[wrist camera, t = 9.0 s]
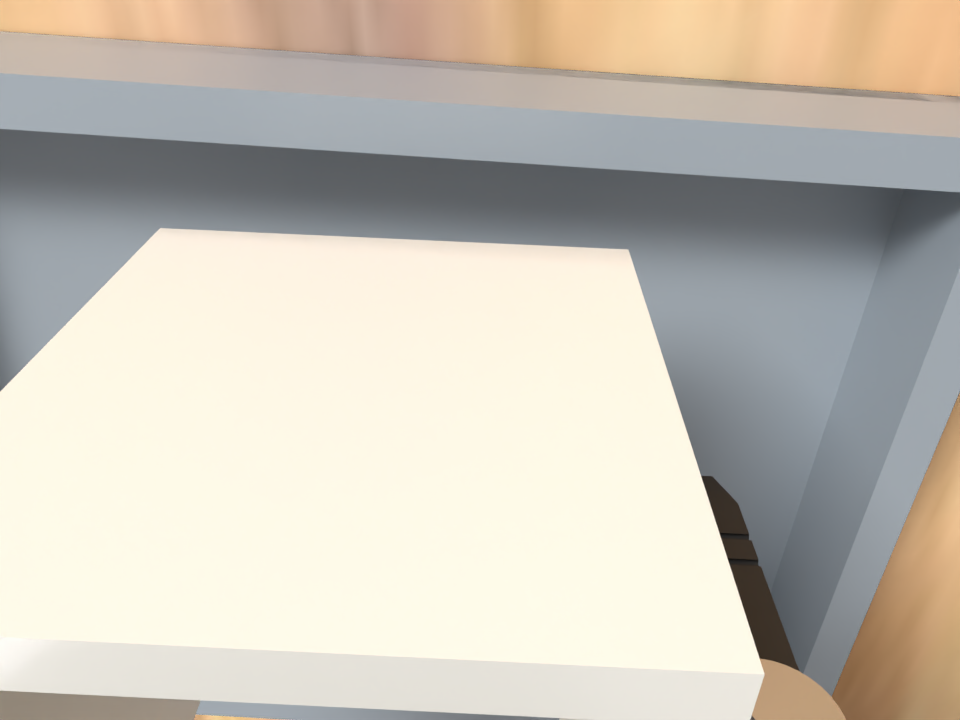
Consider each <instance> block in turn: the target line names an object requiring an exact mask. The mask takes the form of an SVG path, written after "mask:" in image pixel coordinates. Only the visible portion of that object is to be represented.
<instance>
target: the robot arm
mask: <svg viewBox="0 0 960 720" xmlns="http://www.w3.org/2000/svg"><path fill="white" fill-rule="evenodd" d="M701 477H702V481H703V484H704V487H705V490H706V493H707V496H708V499H709V502H710V505H711V509H712V512H713V515H714V518H715V521H716V524H717V527H718V530H719V534H720V537H721V540H722V543H723V546H724V549H725V552H726V555H727V559H728V562H729V565H730V568H731V571H732V574H733V577H734V580H735V583H736V587H737V590H738V593H739V596H740V599H741V602H742V605H743V608H744V612H745V615H746V618H747V621H748V624H749V627H750V630H751V633H752V637H753V640H754V643H755V646H756V649H757V652H758V655H759V658H760V661H761V665H762V668H763V671H764V674H765V675H764V678H763V681H762V684H761V688H760V691H759V694H758V697H757V700H756V703H755V706H754V710H753V713H752V716H751V719H750V720H846V718H845V716H844V715H843V713H842V711H841V709H840V708H839V706H838V705H837V703H836V702H835V701H834V700H833V698H832V697H831V696H830V695H829V694H828V693H827V692H826V691H825V690H824V689H823V688H822V687H821V686H820V685H819V684H817V683H816V682H815V681H813V680H812V679H811V678H809V677H808V676H806V675H804V674H803V673H801V672H800V670H799V668H798V666H797V664H796V661H795V658H794V655H793V653H792V650H791V647H790V644H789V642H788V639H787V636H786V633H785V631H784V628H783V625H782V622H781V620H780V617H779V614H778V611H777V609H776V606H775V603H774V601H773V598H772V595H771V592H770V590H769V587H768V584H767V581H766V579H765V576H764V573H763V570H762V568H761V566H759V565H758V561H759V559H758V557H757V554H756V551H755V548H754V546H753V543H752V540H749V532H748V529H747V527H746V524H745V521H744V518H743V516H742V513H741V510H740V507H739V505H738V503H737V502H736V501H735V500H734V499H733V498H732V496H731V495H730V494H729V493H728V492H727V491H726V490H725V489H724V488H723V487H722V486H721V485H720V484H719V483H718V482H717V481H716V480H715V479H714V477H713V476H701Z"/></svg>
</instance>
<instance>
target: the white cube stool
mask: <svg viewBox="0 0 960 720" xmlns="http://www.w3.org/2000/svg"><path fill="white" fill-rule="evenodd" d="M764 675H765V674H764V671H763V668H762V665H761V661H760V658H759V655H758V652H757V649H756V646H755V643H754V640H753V637H752V633H751V630H750V627H749V624H748V621H747V618H746V615H745V612H744V608H743V605H742V602H741V599H740V596H739V593H738V590H737V587H736V583H735V580H734V577H733V574H732V571H731V568H730V565H729V562H728V559H727V555H726V552H725V549H724V546H723V543H722V540H721V537H720V534H719V530H718V527H717V524H716V521H715V518H714V515H713V512H712V509H711V505H710V502H709V499H708V496H707V493H706V490H705V487H704V484H703V481H702V477H701V474H700V471H699V468H698V465H697V462H696V459H695V456H694V452H693V449H692V446H691V443H690V440H689V437H688V434H687V431H686V427H685V424H684V421H683V418H682V415H681V412H680V409H679V406H678V402H677V399H676V396H675V393H674V390H673V387H672V384H671V381H670V378H669V374H668V371H667V368H666V365H665V362H664V359H663V356H662V353H661V349H660V346H659V343H658V340H657V337H656V334H655V331H654V328H653V324H652V321H651V318H650V315H649V312H648V309H647V306H646V303H645V300H644V296H643V293H642V290H641V287H640V284H639V281H638V278H637V275H636V271H635V268H634V265H633V262H632V259H631V256H630V253H629V250H628V249H607V248H585V247H563V246H541V245H520V244H498V243H476V242H454V241H432V240H410V239H388V238H367V237H345V236H323V235H301V234H279V233H257V232H235V231H214V230H192V229H170V228H160V229H159V230H158V231H157V232H156V233H155V234H154V235H153V236H152V237H151V238H150V239H149V240H148V241H147V242H146V243H145V244H144V245H143V246H142V247H141V248H140V249H139V250H138V251H137V252H136V253H135V254H134V255H133V256H132V257H131V258H130V259H129V260H128V262H127V263H126V264H125V265H124V266H123V267H122V268H121V269H120V270H119V271H118V272H117V273H116V274H115V275H114V276H113V277H112V278H111V279H110V280H109V281H108V282H107V283H106V284H105V285H104V286H103V287H102V288H101V289H100V290H99V291H98V292H97V293H96V294H95V295H94V296H93V297H92V298H91V299H90V300H89V301H88V302H87V303H86V304H85V305H84V307H83V308H82V309H81V310H80V311H79V312H78V313H77V314H76V315H75V316H74V317H73V318H72V319H71V320H70V321H69V322H68V323H67V324H66V325H65V326H64V327H63V328H62V329H61V330H60V331H59V332H58V333H57V334H56V335H55V336H54V337H53V338H52V339H51V340H50V341H49V342H48V343H47V344H46V345H45V346H44V347H43V348H42V349H41V350H40V352H39V353H38V354H37V355H36V356H35V357H34V358H33V359H32V360H31V361H30V362H29V363H28V364H27V365H26V366H25V367H24V368H23V369H22V370H21V371H20V372H19V373H18V374H17V375H16V376H15V377H14V378H13V379H12V380H11V381H10V382H9V383H8V384H7V385H6V386H5V387H4V388H3V389H2V390H1V391H0V720H194V717H195V715H196V712H197V709H198V706H199V704H200V701H201V700H202V701H223V702H243V703H263V704H284V705H304V706H324V707H345V708H365V709H385V710H406V711H426V712H446V713H467V714H487V715H507V716H528V717H548V718H559V720H750V719H751V716H752V713H753V710H754V706H755V703H756V700H757V697H758V694H759V691H760V688H761V684H762V681H763V678H764Z"/></svg>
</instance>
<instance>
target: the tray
mask: <svg viewBox="0 0 960 720" xmlns="http://www.w3.org/2000/svg"><path fill="white" fill-rule="evenodd" d="M160 228H170V229H192V230H214V231H235V232H257V233H279V234H301V235H323V236H345V237H367V238H388V239H410V240H432V241H454V242H476V243H498V244H520V245H541V246H563V247H585V248H607V249H628V250H629V253H630V256H631V259H632V262H633V265H634V268H635V271H636V275H637V278H638V281H639V284H640V287H641V290H642V293H643V296H644V300H645V303H646V306H647V309H648V312H649V315H650V318H651V321H652V324H653V328H654V331H655V334H656V337H657V340H658V343H659V346H660V349H661V353H662V356H663V359H664V362H665V365H666V368H667V371H668V374H669V378H670V381H671V384H672V387H673V390H674V393H675V396H676V399H677V402H678V406H679V409H680V412H681V415H682V418H683V421H684V424H685V427H686V431H687V434H688V437H689V440H690V443H691V446H692V449H693V452H694V456H695V459H696V462H697V465H698V468H699V471H700V474H701V476H713V477H714V479H715V480H716V481H717V482H718V483H719V484H720V485H721V486H722V487H723V488H724V489H725V490H726V491H727V492H728V493H729V494H730V495H731V496H732V498H733V499H734V500H735V501H736V502H737V503H738V505H739V507H740V510H741V513H742V516H743V518H744V521H745V524H746V527H747V529H748V532H749V540H752V543H753V546H754V548H755V551H756V554H757V557H758V559H759V561H758V565H759V566H761V568H762V570H763V573H764V576H765V579H766V581H767V584H768V587H769V590H770V592H771V595H772V598H773V601H774V603H775V606H776V609H777V611H778V614H779V617H780V620H781V622H782V625H783V628H784V631H785V633H786V636H787V639H788V642H789V644H790V647H791V650H792V653H793V655H794V658H795V661H796V664H797V666H798V668H799V670H800V672H801V673H803V674H804V675H806V676H808V677H809V678H811V679H812V680H813V681H815V682H816V683H817V684H819V685H820V686H821V687H822V688H823V689H824V690H825V691H826V692H827V693H828V694H829V695H830V696H832V694H833V692H834V689H835V687H836V685H837V682H838V680H839V677H840V675H841V673H842V670H843V668H844V666H845V663H846V661H847V658H848V656H849V654H850V651H851V649H852V647H853V644H854V642H855V639H856V637H857V635H858V632H859V630H860V628H861V625H862V623H863V620H864V618H865V616H866V613H867V611H868V609H869V606H870V604H871V601H872V599H873V597H874V594H875V592H876V590H877V587H878V585H879V582H880V580H881V578H882V575H883V573H884V571H885V568H886V566H887V563H888V561H889V559H890V556H891V554H892V552H893V549H894V547H895V544H896V542H897V540H898V537H899V535H900V533H901V530H902V528H903V525H904V523H905V521H906V518H907V516H908V513H909V511H910V509H911V506H912V504H913V502H914V499H915V497H916V494H917V492H918V490H919V487H920V485H921V483H922V480H923V478H924V475H925V473H926V471H927V468H928V466H929V464H930V461H931V459H932V456H933V454H934V452H935V449H936V447H937V445H938V442H939V440H940V437H941V435H942V433H943V430H944V428H945V426H946V423H947V421H948V418H949V416H950V414H951V411H952V409H953V407H954V404H955V402H956V399H957V397H958V395H959V392H960V97H959V96H944V95H930V94H915V93H900V92H885V91H871V90H856V89H841V88H826V87H812V86H797V85H782V84H767V83H753V82H738V81H723V80H708V79H694V78H679V77H664V76H650V75H635V74H620V73H605V72H591V71H576V70H561V69H546V68H532V67H517V66H502V65H487V64H473V63H458V62H443V61H429V60H414V59H399V58H384V57H370V56H355V55H340V54H325V53H311V52H296V51H281V50H266V49H252V48H237V47H222V46H207V45H193V44H178V43H163V42H149V41H134V40H119V39H104V38H90V37H75V36H60V35H45V34H31V33H16V32H1V31H0V391H1V390H2V389H3V388H4V387H5V386H6V385H7V384H8V383H9V382H10V381H11V380H12V379H13V378H14V377H15V376H16V375H17V374H18V373H19V372H20V371H21V370H22V369H23V368H24V367H25V366H26V365H27V364H28V363H29V362H30V361H31V360H32V359H33V358H34V357H35V356H36V355H37V354H38V353H39V352H40V350H41V349H42V348H43V347H44V346H45V345H46V344H47V343H48V342H49V341H50V340H51V339H52V338H53V337H54V336H55V335H56V334H57V333H58V332H59V331H60V330H61V329H62V328H63V327H64V326H65V325H66V324H67V323H68V322H69V321H70V320H71V319H72V318H73V317H74V316H75V315H76V314H77V313H78V312H79V311H80V310H81V309H82V308H83V307H84V305H85V304H86V303H87V302H88V301H89V300H90V299H91V298H92V297H93V296H94V295H95V294H96V293H97V292H98V291H99V290H100V289H101V288H102V287H103V286H104V285H105V284H106V283H107V282H108V281H109V280H110V279H111V278H112V277H113V276H114V275H115V274H116V273H117V272H118V271H119V270H120V269H121V268H122V267H123V266H124V265H125V264H126V263H127V262H128V260H129V259H130V258H131V257H132V256H133V255H134V254H135V253H136V252H137V251H138V250H139V249H140V248H141V247H142V246H143V245H144V244H145V243H146V242H147V241H148V240H149V239H150V238H151V237H152V236H153V235H154V234H155V233H156V232H157V231H158V230H159V229H160ZM196 714H199V715H216V716H234V717H252V718H270V719H287V720H559V718H548V717H528V716H507V715H487V714H467V713H446V712H426V711H406V710H385V709H365V708H345V707H324V706H304V705H284V704H263V703H243V702H223V701H202V700H201V701H200V704H199V706H198V709H197V712H196Z"/></svg>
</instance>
